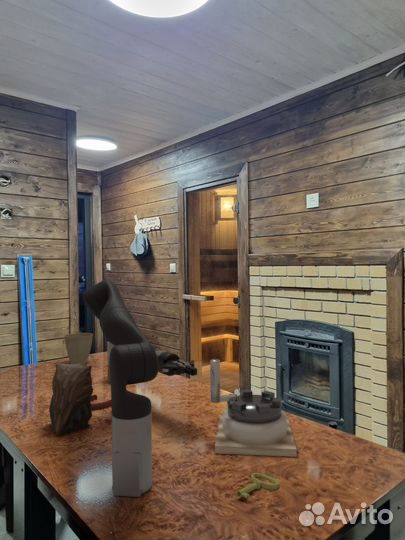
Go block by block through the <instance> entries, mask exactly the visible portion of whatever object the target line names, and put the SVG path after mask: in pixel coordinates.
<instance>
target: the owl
mask: <svg viewBox="0 0 405 540" xmlns="http://www.w3.org/2000/svg"><path fill="white" fill-rule="evenodd" d="M92 368H93V367H92V365H87V364H85V365H84V364H83V363H78V364H71V363H70V364H69V363H68V364H67V363H63V362H57V363H56V364H55V372H54V373H53V377H52V380H51V381H52V388H51V389H52V395H51V397H50V404H49V410H48V412H49V413H48V414H49V417H50V422H51V429H52V430H53V434H54V435H55V437H56V438H59V437H61V436H65V435H69V434H71V433H75V432H78V431H80V430H84V429H88V428H89V427H90V426H91V425H90V424H89V422H90V420H91V418H92V417H93V413H92V412H93V411H91V404H92V403H91V402H90V400H91V396H92V395H93V393H94V388H93V379H92V378H93V377H92V374H91V373H92Z"/></svg>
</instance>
